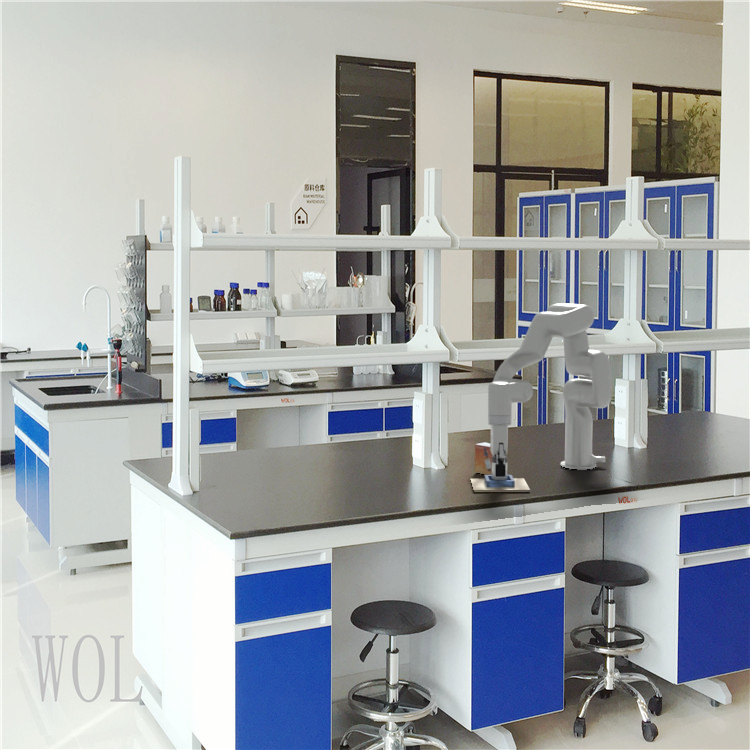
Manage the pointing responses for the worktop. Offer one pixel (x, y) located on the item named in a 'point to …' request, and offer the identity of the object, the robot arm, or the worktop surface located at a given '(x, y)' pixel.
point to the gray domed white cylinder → (494, 469)
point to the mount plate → (499, 483)
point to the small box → (483, 458)
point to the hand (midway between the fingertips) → (499, 473)
